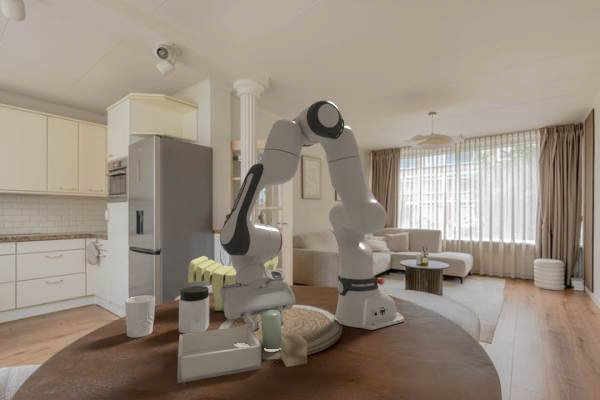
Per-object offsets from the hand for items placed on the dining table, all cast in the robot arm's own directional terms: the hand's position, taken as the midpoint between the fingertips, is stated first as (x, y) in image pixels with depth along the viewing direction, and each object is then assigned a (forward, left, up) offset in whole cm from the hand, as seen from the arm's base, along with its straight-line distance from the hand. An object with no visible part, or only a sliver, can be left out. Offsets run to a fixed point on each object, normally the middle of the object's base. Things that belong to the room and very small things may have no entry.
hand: (268, 327), depth 81 cm
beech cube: (-4, +8, -6) cm, 10 cm away
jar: (+18, -21, -6) cm, 28 cm away
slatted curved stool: (+3, -39, -6) cm, 40 cm away
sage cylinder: (-1, 0, -5) cm, 5 cm away
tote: (+13, +2, -5) cm, 14 cm away
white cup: (+33, -23, -6) cm, 41 cm away
